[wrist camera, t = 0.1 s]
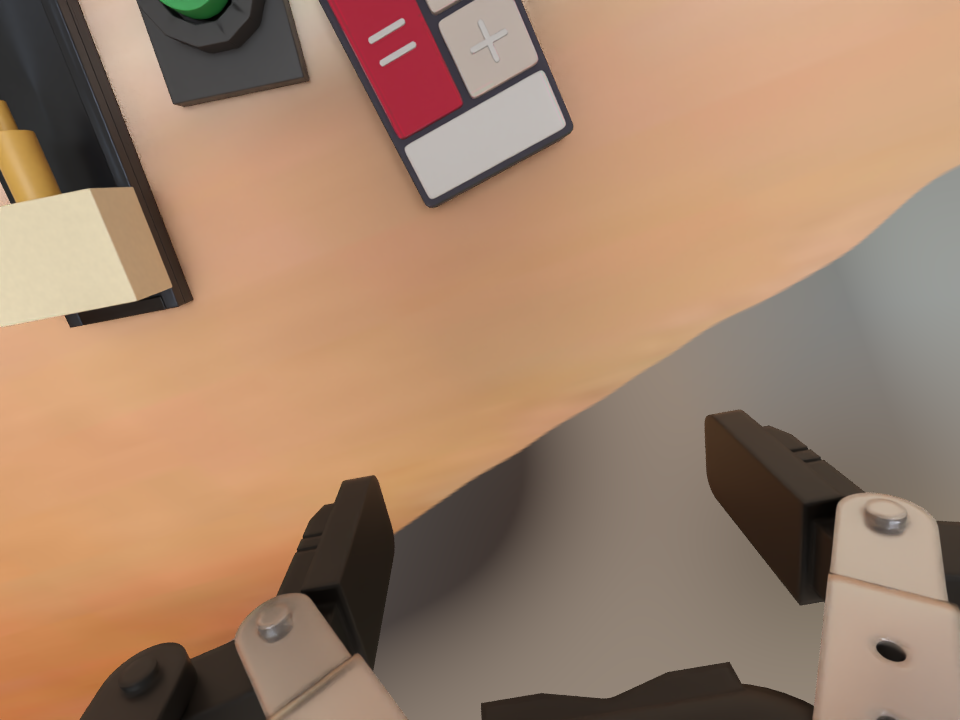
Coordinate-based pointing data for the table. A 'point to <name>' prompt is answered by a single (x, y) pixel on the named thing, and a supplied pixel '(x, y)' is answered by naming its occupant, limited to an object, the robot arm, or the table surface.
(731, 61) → the table surface
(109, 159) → the rail
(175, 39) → the button box
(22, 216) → the nozzle carriage
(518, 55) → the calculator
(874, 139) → the table surface
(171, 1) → the button
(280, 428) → the table surface
